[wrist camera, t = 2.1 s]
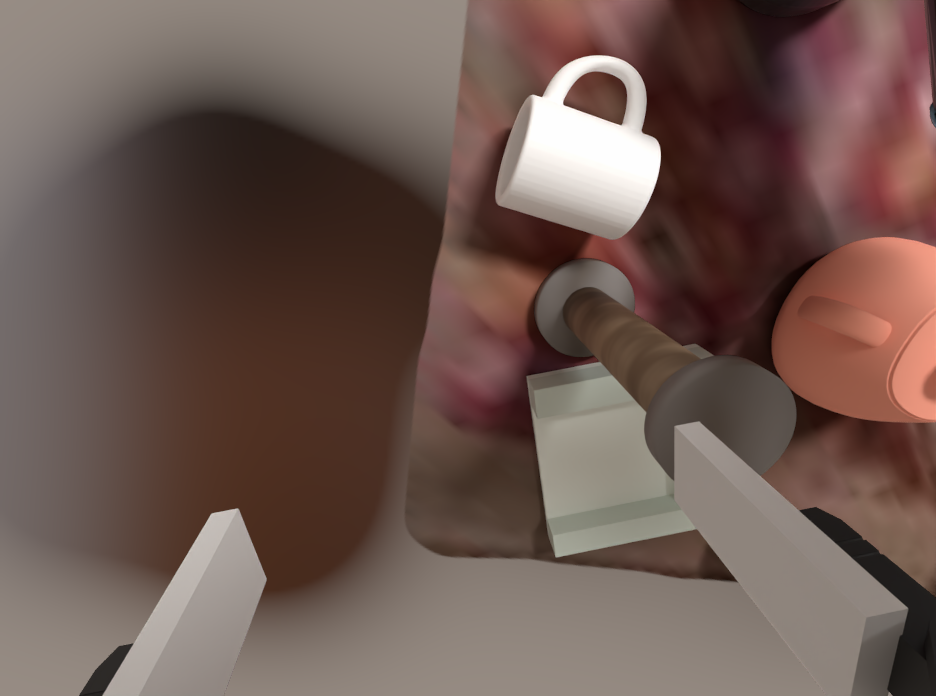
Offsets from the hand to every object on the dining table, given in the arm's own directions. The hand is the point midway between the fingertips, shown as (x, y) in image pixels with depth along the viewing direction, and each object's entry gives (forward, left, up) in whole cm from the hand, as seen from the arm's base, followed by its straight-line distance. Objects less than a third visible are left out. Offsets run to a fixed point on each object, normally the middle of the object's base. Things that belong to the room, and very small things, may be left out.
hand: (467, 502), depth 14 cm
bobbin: (-13, +5, -30) cm, 33 cm away
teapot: (-40, +12, -31) cm, 52 cm away
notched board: (-15, +21, -30) cm, 40 cm away
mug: (-13, -9, -31) cm, 35 cm away
